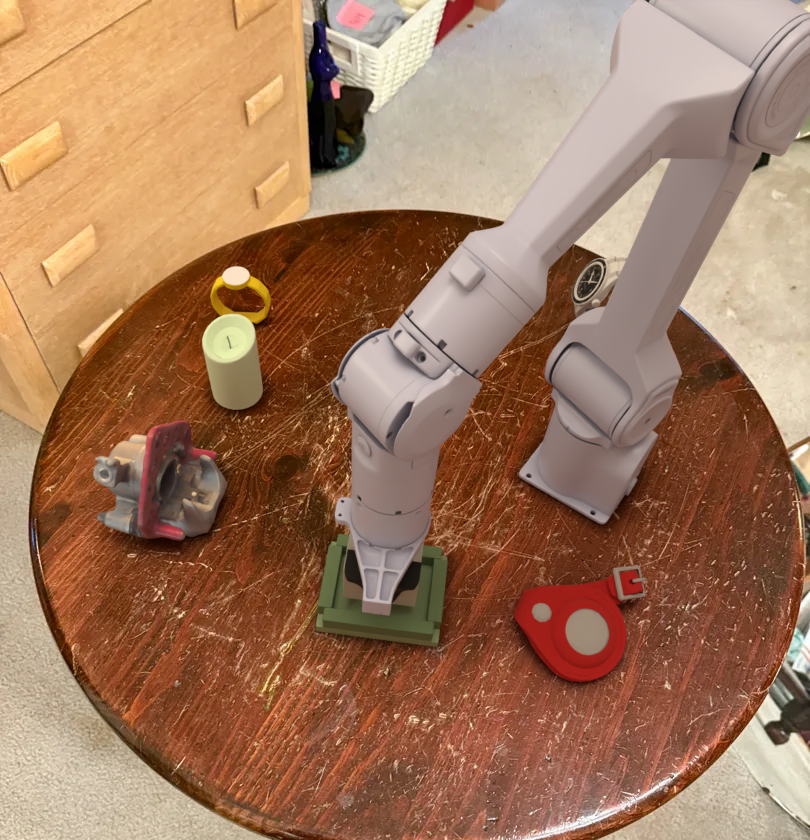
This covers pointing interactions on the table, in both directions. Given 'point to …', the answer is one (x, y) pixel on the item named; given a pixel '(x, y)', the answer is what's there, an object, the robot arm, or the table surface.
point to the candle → (233, 361)
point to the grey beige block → (357, 592)
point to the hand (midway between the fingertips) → (384, 573)
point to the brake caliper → (161, 484)
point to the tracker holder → (579, 623)
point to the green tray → (403, 620)
